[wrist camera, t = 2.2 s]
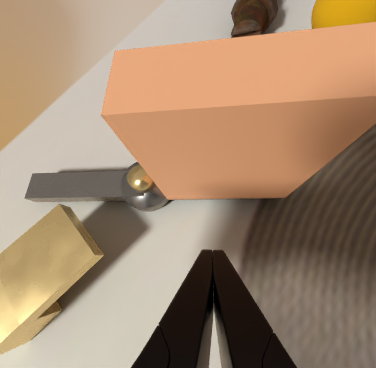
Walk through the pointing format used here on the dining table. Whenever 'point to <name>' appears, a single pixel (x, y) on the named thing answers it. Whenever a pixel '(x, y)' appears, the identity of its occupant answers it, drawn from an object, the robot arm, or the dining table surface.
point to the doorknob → (342, 12)
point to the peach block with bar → (230, 116)
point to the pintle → (140, 180)
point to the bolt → (252, 17)
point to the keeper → (41, 274)
